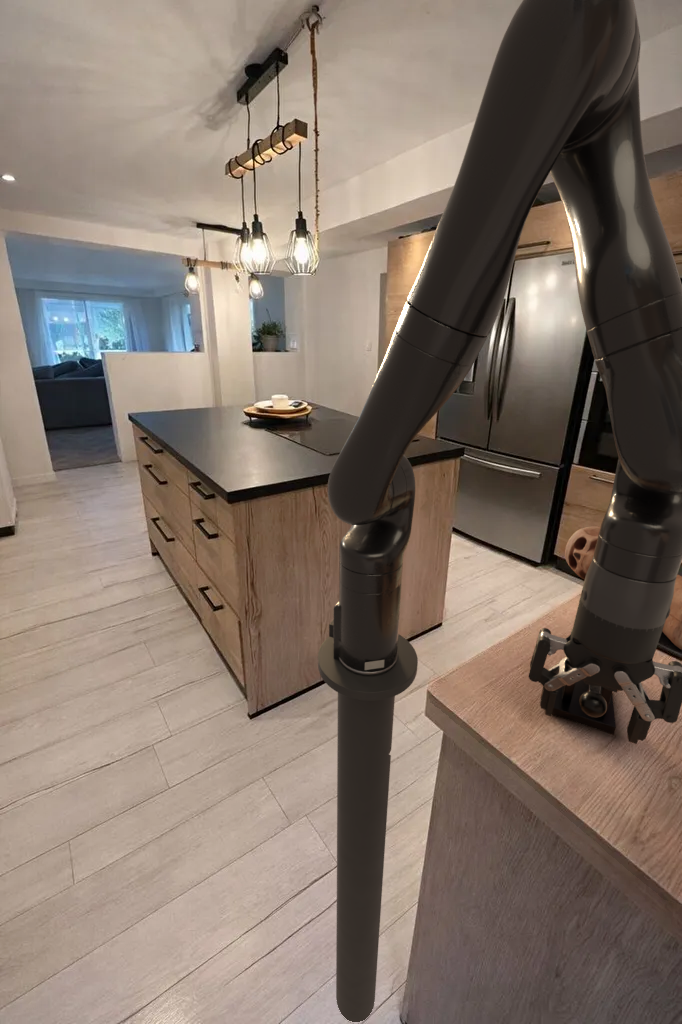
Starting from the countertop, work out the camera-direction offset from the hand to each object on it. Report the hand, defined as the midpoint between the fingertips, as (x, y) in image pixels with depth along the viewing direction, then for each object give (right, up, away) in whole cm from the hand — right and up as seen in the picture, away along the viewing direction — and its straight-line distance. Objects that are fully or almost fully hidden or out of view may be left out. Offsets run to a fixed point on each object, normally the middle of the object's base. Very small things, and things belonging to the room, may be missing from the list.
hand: (588, 723), depth 51 cm
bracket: (+3, -1, +8) cm, 8 cm away
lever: (+2, +5, +3) cm, 6 cm away
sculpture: (+25, +7, +15) cm, 30 cm away
